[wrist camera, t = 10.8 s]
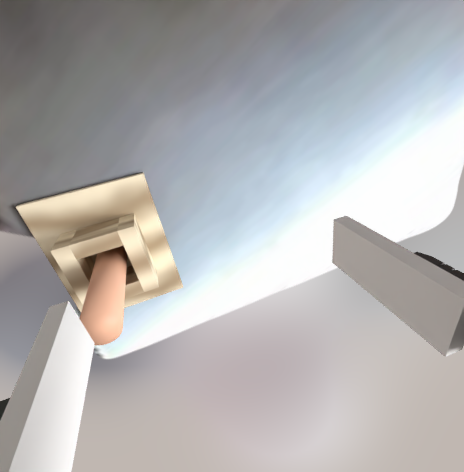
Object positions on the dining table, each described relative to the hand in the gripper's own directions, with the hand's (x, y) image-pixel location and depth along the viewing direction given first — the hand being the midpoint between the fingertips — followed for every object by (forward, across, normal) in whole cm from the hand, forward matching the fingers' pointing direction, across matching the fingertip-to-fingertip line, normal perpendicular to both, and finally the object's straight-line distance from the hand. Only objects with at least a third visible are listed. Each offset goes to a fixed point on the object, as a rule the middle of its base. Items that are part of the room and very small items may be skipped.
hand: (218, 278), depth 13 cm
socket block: (+28, -11, -11) cm, 32 cm away
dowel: (+27, -11, -11) cm, 31 cm away
